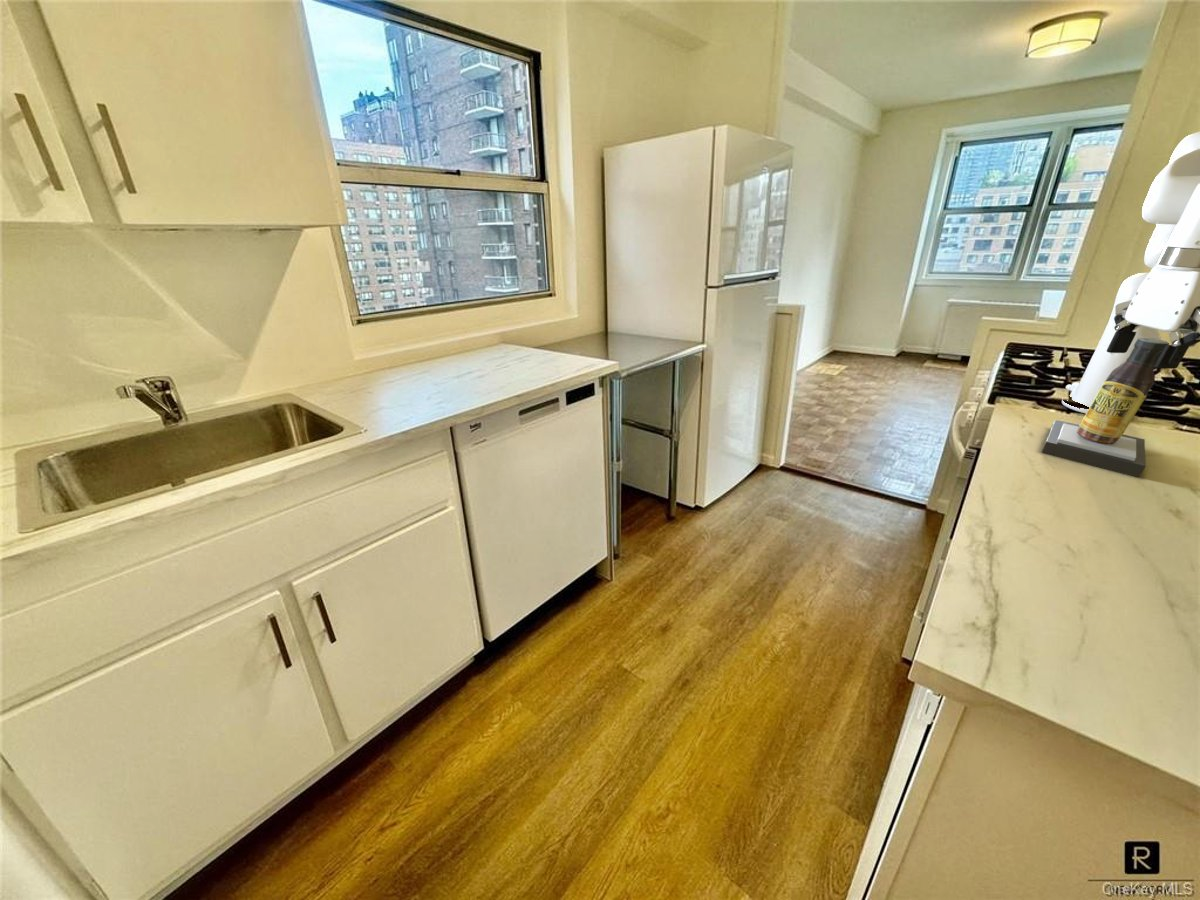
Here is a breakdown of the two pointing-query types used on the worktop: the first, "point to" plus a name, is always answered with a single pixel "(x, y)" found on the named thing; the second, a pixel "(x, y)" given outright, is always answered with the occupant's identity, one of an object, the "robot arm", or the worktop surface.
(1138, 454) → the scale
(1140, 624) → the worktop surface
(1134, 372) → the sauce bottle
